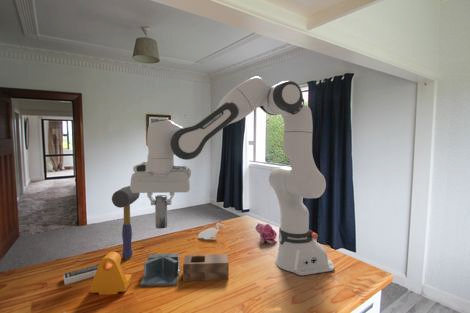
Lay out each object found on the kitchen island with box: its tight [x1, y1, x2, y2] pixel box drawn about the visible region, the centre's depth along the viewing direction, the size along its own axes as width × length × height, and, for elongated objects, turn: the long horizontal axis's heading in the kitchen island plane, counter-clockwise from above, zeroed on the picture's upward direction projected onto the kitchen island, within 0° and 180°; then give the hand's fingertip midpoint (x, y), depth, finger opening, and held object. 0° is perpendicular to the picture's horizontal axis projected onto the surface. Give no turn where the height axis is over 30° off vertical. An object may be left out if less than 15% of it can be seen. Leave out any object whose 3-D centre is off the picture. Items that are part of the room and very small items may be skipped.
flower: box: [255, 223, 278, 245], centre depth 127 cm, size 11×10×10 cm
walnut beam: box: [182, 253, 230, 282], centre depth 95 cm, size 16×7×6 cm, turn 95°
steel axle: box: [154, 194, 168, 230], centre depth 92 cm, size 4×4×11 cm
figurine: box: [197, 222, 227, 240], centre depth 129 cm, size 14×4×9 cm, turn 92°
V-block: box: [139, 252, 182, 288], centre depth 93 cm, size 12×12×6 cm
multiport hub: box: [63, 264, 99, 286], centre depth 94 cm, size 4×14×2 cm, turn 128°
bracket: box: [89, 251, 133, 296], centre depth 86 cm, size 11×7×12 cm, turn 95°
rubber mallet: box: [111, 185, 141, 260], centre depth 107 cm, size 12×8×30 cm, turn 0°
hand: (161, 204), depth 91 cm, fingers closed on steel axle, 4 cm apart
